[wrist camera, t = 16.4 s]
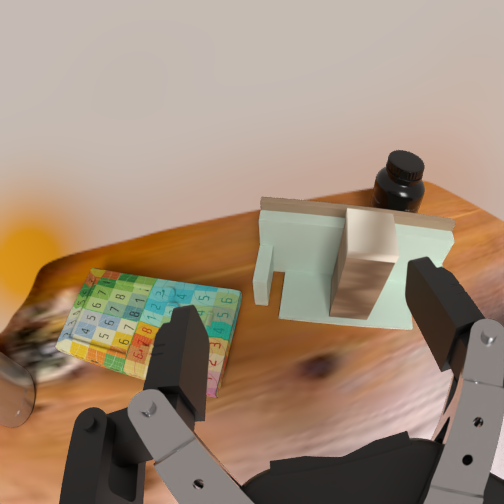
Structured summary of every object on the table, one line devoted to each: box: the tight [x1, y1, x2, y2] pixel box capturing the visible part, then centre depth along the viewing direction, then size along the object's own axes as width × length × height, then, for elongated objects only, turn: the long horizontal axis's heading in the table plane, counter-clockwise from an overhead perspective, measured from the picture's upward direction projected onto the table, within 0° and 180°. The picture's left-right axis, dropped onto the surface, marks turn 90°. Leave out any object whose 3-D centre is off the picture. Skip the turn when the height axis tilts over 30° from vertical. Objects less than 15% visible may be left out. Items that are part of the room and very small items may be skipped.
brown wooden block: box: [329, 208, 399, 320], centre depth 32 cm, size 5×5×12 cm
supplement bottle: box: [369, 150, 425, 213], centre depth 39 cm, size 7×7×12 cm
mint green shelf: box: [253, 197, 455, 330], centre depth 34 cm, size 22×9×10 cm, turn 80°
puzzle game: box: [55, 268, 242, 398], centre depth 34 cm, size 12×5×20 cm
